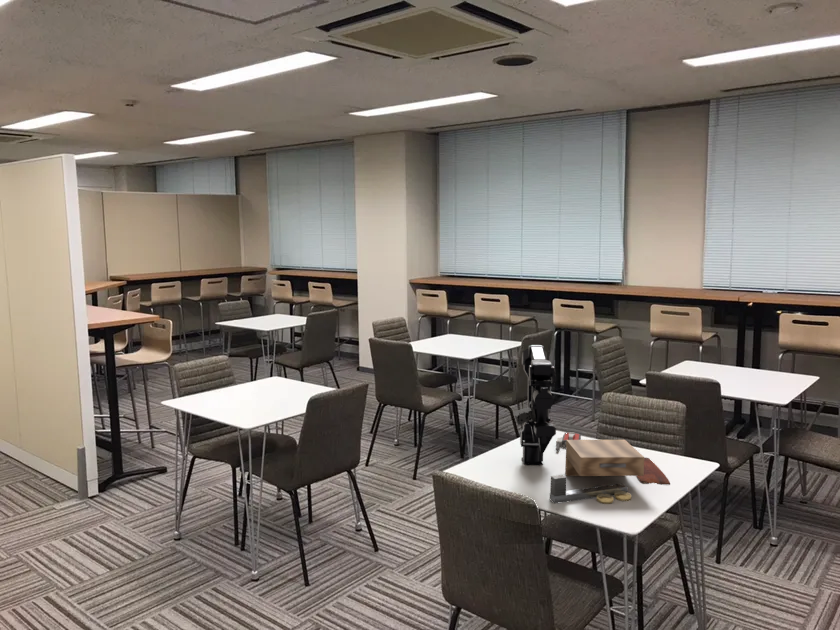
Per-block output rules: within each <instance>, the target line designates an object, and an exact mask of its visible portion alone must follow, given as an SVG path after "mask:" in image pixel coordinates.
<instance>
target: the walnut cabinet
mask: <svg viewBox="0 0 840 630" xmlns="http://www.w3.org/2000/svg"><path fill="white" fill-rule="evenodd" d="M644 457H645V456H644V455H642V454H641V452H639V450H636V448H635V447H634V446H633V445H631V443H630V442H629V441H627V440H626V439H581V440H566V448H565V469H564V470H565V472H564V474H565V477H606V476H607V477H623V476H624V477H628V476H629V477H632V476H633V477H637V476H643V475H644Z"/></svg>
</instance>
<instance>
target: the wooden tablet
mask: <svg viewBox="0 0 840 630" xmlns="http://www.w3.org/2000/svg"><path fill="white" fill-rule="evenodd" d="M651 460H652V459H651ZM651 460H650V458H649V457H645V456H644V475H643V476H636V478H637V479H638V481H639V482H640V483H641V484H649V483H650V484H655V483H657V485H662V484H669V485H670V484H671V482H670V480H669V478H668V477H667V476H666V474H665V473H664V472H663V470H661V469H660V468H659V466H658V465H657V464H655V462H654V461H653V462H654V463H653V462H652V461H651Z"/></svg>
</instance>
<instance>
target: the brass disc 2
mask: <svg viewBox="0 0 840 630" xmlns="http://www.w3.org/2000/svg"><path fill="white" fill-rule="evenodd" d="M613 498H614V500H617V501H620V502H630V501H631V500H632V494H631V493H630V492H628V491H627V492H625V491H617V492H615V493H614V495H613Z"/></svg>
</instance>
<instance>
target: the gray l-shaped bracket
mask: <svg viewBox="0 0 840 630" xmlns="http://www.w3.org/2000/svg"><path fill="white" fill-rule="evenodd" d="M628 489H629V487H628V486H627V485H625V484H624V483H616V484H615V483H614V484H608V485H602V486H601V485H600V486H592V487H586V488H578V489H570V490H567V476H566V475H564V474H556V475H551V476H550V491H549V492H550V493H549V500H550V499H551V500H552V501H553V502H554V503H553V502H552V501H551V500H550V501H551V502H552V503H553V504H559V503H558V502H562V503H567V501H569V502H575V501H582V500H590V499H597V495H598V494H608V495H611V496H613V497H614V493H615V492H617V491H625V492H628V491H629V490H628Z"/></svg>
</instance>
